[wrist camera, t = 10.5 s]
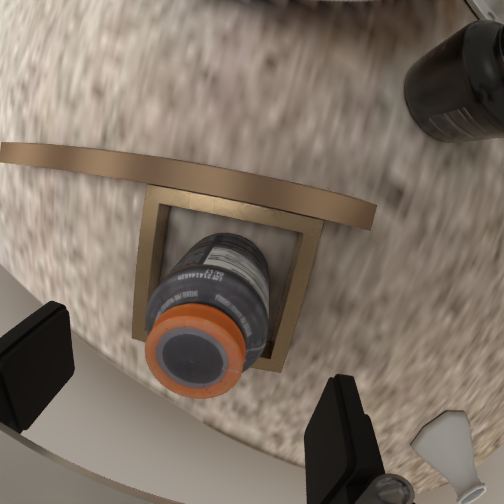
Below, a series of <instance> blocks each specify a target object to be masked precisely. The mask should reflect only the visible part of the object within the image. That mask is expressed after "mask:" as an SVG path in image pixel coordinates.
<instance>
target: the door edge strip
mask: <svg viewBox="0 0 504 504" xmlns="http://www.w3.org/2000/svg"><path fill="white" fill-rule="evenodd" d="M0 162H2V163H11V164H20V165H28V166H36V167H44V168H52V169H59V170H66V171H74V172H80V173H87V174H94V175H101V176H107V177H113V178H120V179H126V180H132V181H138V182H144V183H150V184H155V185H161V186H167V187H172V188H178V189H183V190H188V191H194V192H199V193H204V194H209V195H214V196H219V197H224V198H229V199H234V200H239V201H244V202H249V203H254V204H258V205H263V206H268V207H272V208H277V209H281V210H286V211H290V212H295V213H299V214H304V215H308V216H312V217H316V218H321V219H325V220H329V221H333V222H337V223H342V224H346V225H350V226H354V227H358V228H362V229H366V230H370V231H371V227H372V223H373V219H374V215H375V212H376V207H377V205H375V204H372V203H369V202H366V201H364V200H361V199H358V198H354V197H350V196H346V195H342V194H338V193H335V192H331V191H327V190H323V189H318V188H314V187H310V186H306V185H302V184H297V183H293V182H289V181H284V180H280V179H275V178H271V177H266V176H261V175H256V174H252V173H247V172H242V171H237V170H231V169H226V168H221V167H216V166H210V165H204V164H199V163H193V162H187V161H181V160H175V159H169V158H162V157H155V156H149V155H142V154H134V153H127V152H119V151H111V150H103V149H94V148H84V147H74V146H64V145H52V144H39V143H13V142H1V149H0Z"/></svg>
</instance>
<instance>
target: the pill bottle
mask: <svg viewBox="0 0 504 504" xmlns="http://www.w3.org/2000/svg"><path fill="white" fill-rule="evenodd" d="M268 299H269V295H268V267H267V263H266V261H265V258H264V256H263V255H262V253H261V252H260V250H259V249H258V248H257V247H256V246H255V245H254V244H253V243H252V242H250V241H249V240H247V239H246V238H243V237H241V236H238V235H235V234H229V233H218V234H214V235H211V236H208V237H205V238H204V239H202V240H201V241H199V242H198V243H196V244H195V245H194V246H193V247H192V248H191V249H190V250H189V252H188V253H187V254H186V255H185V256H184V257H183V258H182V259H181V260H180V261H179V263H178V264H177V265H176V266H175V267H174V268H173V269H172V270H171V271H170V273H169V274H168V275H167V276H166V277H165V278H164V279H163V280H162V282H161V283H160V284H159V285H158V286H157V287H156V289H155V290H154V291H153V293H152V294H151V297H150V298H149V301H148V304H147V308H146V314H145V324H146V331H147V336H148V338H147V341H146V345H145V357H146V361H147V364H148V367H149V369H150V370H151V372H152V374H153V375H154V376H155V378H156V379H157V380H158V381H159V382H160V383H161V384H162V385H164V386H165V387H166V388H168V389H169V390H171V391H173V392H175V393H177V394H180V395H182V396H186V397H190V398H197V399H206V398H213V397H216V396H219V395H222V394H224V393H225V392H227V391H229V390H230V389H231V388H232V387H234V385H235V384H236V383H237V381H238V380H239V378H240V376H241V373H243V372H244V371H245V370H247V369H248V368H249V367H251V366H252V365H253V364H254V363H255V362H256V361H257V359H258V358H259V357H260V355H261V354H262V352H263V350H264V348H265V346H266V342H267V339H268V331H269V300H268Z"/></svg>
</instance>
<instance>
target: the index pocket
mask: <svg viewBox="0 0 504 504" xmlns="http://www.w3.org/2000/svg"><path fill="white" fill-rule="evenodd" d="M170 205H172V206H177V207H182V208H187V209H192V210H197V211H202V212H207V213H212V214H217V215H222V216H227V217H232V218H236V219H241V220H246V221H251V222H255V223H260V224H265V225H269V226H274V227H278V228H283V229H287V230H292V231H296V232H299V233H298V237H297V241H296V245H295V249H294V253H293V257H292V261H291V265H290V269H289V273H288V277H287V281H286V285H285V289H284V293H283V297H282V301H281V304H280V308H279V312H278V316H277V319H276V323H275V327H274V331H273V334H272V338H271V342H270V341H267V342H266V346H265V348H264V350H263V352H262V354H261V355H260V357H259V358H258V359H257V361H256V362H255V363H254V364H253V365H252V366H251V368H256V369H262V370H267V371H273V372H278V373H281V371H282V368H283V365H284V362H285V359H286V355H287V352H288V349H289V346H290V342H291V339H292V336H293V333H294V329H295V326H296V322H297V319H298V316H299V312H300V309H301V305H302V302H303V298H304V295H305V291H306V287H307V284H308V280H309V277H310V273H311V269H312V265H313V262H314V258H315V254H316V250H317V246H318V242H319V238H320V235H321V231H322V226H323V222H324V220H323V219H321V218H316V217H312V216H308V215H304V214H299V213H295V212H290V211H286V210H281V209H277V208H272V207H268V206H263V205H258V204H254V203H249V202H244V201H239V200H234V199H229V198H224V197H219V196H214V195H209V194H204V193H199V192H194V191H188V190H183V189H178V188H172V187H167V186H161V185H155V184H147V187H146V193H145V200H144V207H143V214H142V222H141V229H140V238H139V247H138V256H137V266H136V277H135V290H134V304H133V322H132V338H133V339H136V340H140V341H143V342H146V341H147V338H148V336H147V331H146V324H145V314H146V308H147V304H148V301H149V298H150V297H151V294H152V293H153V291H154V290H155V289H156V287H157V286H158V285H159V281H160V272H161V264H162V256H163V249H164V241H165V234H166V227H167V221H168V214H169V208H170Z"/></svg>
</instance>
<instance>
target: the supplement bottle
mask: <svg viewBox="0 0 504 504" xmlns="http://www.w3.org/2000/svg"><path fill="white" fill-rule="evenodd" d="M405 93H406V99H407V103H408V105H409V108H410V110H411V112H412V114H413V116H414V118H415V119H416V121H417V122H418V123H419V125H420V126H421V127H422V128H423V129H424V130H425V131H426V132H427V133H429V134H430V135H431V136H433V137H435V138H437V139H439V140H441V141H444V142H450V143H457V142H467V141H476V140H485V139H495V138H504V24H502V23H499V22H496V21H492V20H477V21H474V22H472V23H470V24H468V25H467V26H465V27H464V28H462V29H461V30H459V31H458V32H456V33H455V34H454V35H452V36H451V37H449V38H448V39H446V40H445V41H444V42H442V43H441V44H439V45H438V46H436V47H435V48H434V49H432V50H431V51H429V52H428V53H427V54H425V55H424V56H423V57H421V58H420V59H419V60H417V61H416V62H415V63H414V64H413V65H412V67H411V68H410V70H409V72H408V74H407V77H406V82H405Z"/></svg>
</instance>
